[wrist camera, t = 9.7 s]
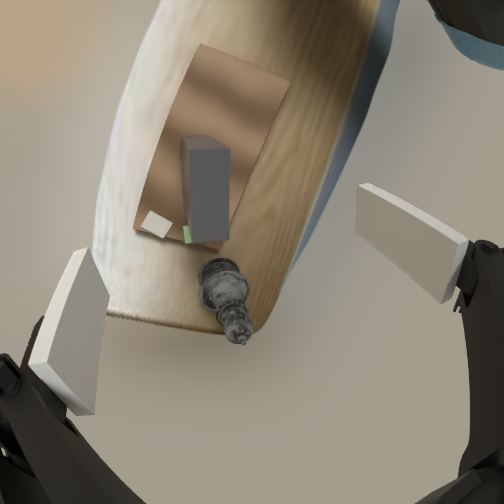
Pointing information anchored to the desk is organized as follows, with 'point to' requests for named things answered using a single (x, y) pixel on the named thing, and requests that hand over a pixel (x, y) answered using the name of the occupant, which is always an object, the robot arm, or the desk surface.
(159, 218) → the dial marks
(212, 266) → the dark grey chess piece
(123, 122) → the desk surface
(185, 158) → the grey block
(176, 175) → the board
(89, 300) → the robot arm
